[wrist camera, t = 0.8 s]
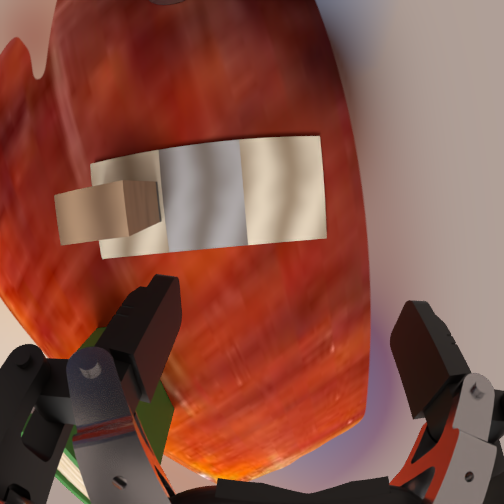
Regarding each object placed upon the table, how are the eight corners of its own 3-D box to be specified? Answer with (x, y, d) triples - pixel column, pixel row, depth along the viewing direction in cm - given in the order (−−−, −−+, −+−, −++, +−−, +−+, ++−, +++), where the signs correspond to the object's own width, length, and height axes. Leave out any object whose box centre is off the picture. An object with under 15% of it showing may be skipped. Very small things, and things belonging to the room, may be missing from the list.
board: (105, 256, 36) (102, 258, 35) (94, 164, 33) (90, 164, 32) (324, 236, 37) (326, 238, 35) (317, 137, 34) (319, 135, 33)
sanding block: (106, 228, 34) (61, 245, 23) (101, 191, 33) (54, 195, 22) (161, 221, 34) (129, 236, 23) (157, 181, 33) (122, 180, 22)
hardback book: (174, 409, 43) (147, 525, 19) (137, 410, 43) (99, 515, 19) (136, 322, 39) (59, 441, 15) (97, 328, 39) (13, 428, 15)
